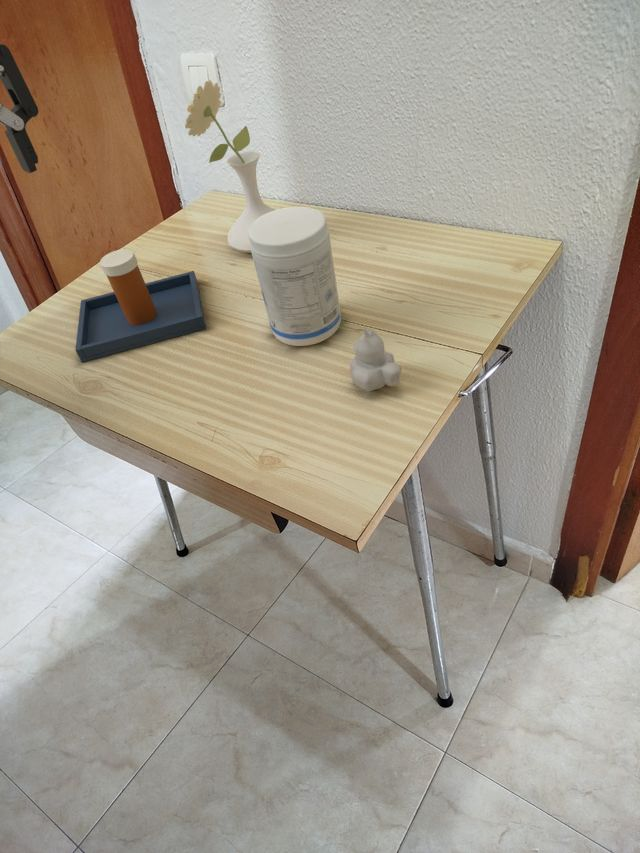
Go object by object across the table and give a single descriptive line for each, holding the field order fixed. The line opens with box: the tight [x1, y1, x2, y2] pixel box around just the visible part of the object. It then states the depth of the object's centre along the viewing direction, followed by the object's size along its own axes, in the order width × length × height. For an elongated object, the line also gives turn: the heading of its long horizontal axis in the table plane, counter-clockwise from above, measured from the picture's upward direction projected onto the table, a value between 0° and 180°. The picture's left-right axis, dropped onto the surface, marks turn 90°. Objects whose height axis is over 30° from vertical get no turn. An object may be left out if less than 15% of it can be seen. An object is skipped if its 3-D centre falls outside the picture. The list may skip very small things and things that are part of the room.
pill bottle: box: [99, 248, 157, 325], centre depth 83 cm, size 5×5×10 cm
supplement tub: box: [248, 205, 342, 347], centre depth 73 cm, size 10×10×15 cm
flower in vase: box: [184, 79, 277, 254], centre depth 89 cm, size 13×11×25 cm
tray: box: [75, 270, 207, 363], centre depth 86 cm, size 18×14×2 cm
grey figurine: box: [349, 326, 402, 392], centre depth 65 cm, size 5×7×8 cm
